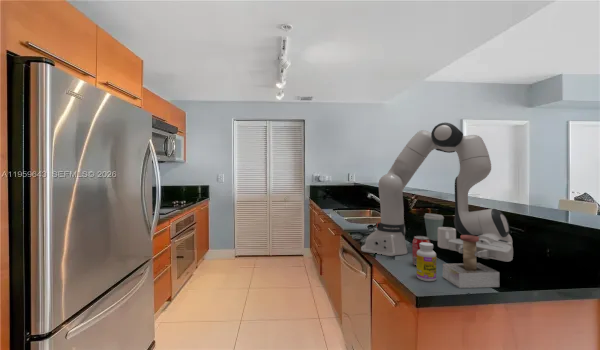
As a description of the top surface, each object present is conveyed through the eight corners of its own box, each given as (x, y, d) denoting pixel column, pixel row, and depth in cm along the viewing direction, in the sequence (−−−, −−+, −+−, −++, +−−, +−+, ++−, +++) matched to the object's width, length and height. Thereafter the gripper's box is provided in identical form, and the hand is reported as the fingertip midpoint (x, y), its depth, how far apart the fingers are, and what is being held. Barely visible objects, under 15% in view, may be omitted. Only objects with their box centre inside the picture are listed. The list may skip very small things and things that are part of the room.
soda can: (433, 265, 116) (433, 237, 116) (427, 269, 111) (426, 240, 111) (416, 262, 121) (416, 234, 121) (409, 265, 116) (409, 237, 116)
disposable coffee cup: (437, 237, 168) (437, 212, 168) (448, 241, 158) (448, 215, 158) (420, 237, 168) (420, 213, 168) (430, 241, 157) (430, 215, 157)
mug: (437, 244, 151) (437, 226, 151) (455, 246, 148) (455, 227, 148) (438, 250, 140) (438, 230, 140) (458, 251, 137) (457, 231, 137)
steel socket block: (459, 288, 93) (459, 273, 93) (442, 277, 103) (442, 263, 103) (499, 286, 94) (499, 272, 94) (479, 276, 104) (479, 262, 104)
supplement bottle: (422, 282, 98) (421, 246, 98) (413, 275, 105) (413, 241, 105) (440, 281, 99) (439, 245, 99) (430, 275, 105) (430, 241, 105)
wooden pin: (461, 277, 97) (461, 237, 97) (460, 272, 102) (459, 234, 102) (480, 279, 95) (480, 238, 95) (478, 274, 100) (477, 235, 100)
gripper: (457, 233, 114) (439, 238, 106) (517, 243, 97) (501, 249, 90) (457, 249, 114) (439, 254, 106) (517, 261, 97) (501, 269, 90)
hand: (468, 252), depth 98 cm, fingers closed on wooden pin, 4 cm apart
